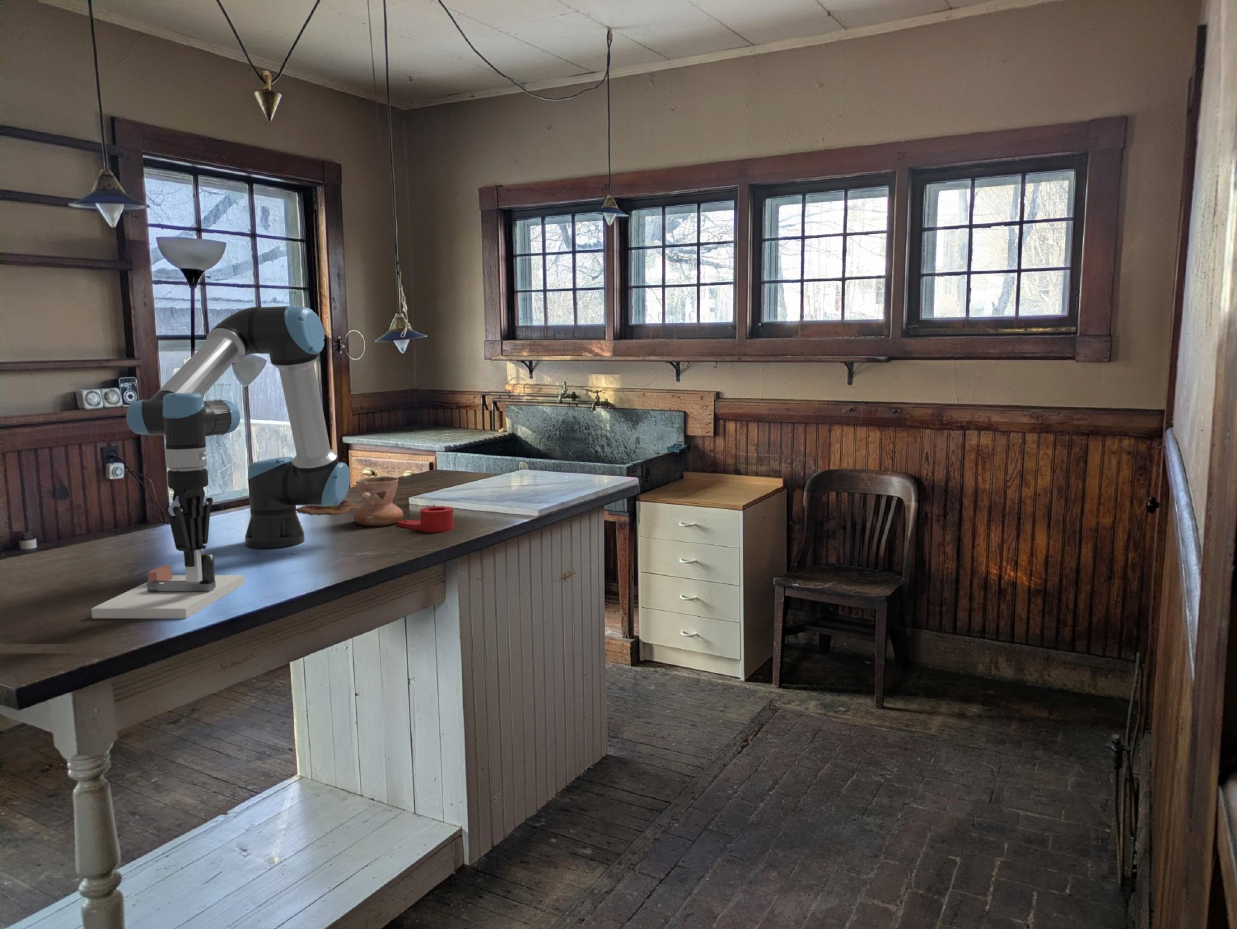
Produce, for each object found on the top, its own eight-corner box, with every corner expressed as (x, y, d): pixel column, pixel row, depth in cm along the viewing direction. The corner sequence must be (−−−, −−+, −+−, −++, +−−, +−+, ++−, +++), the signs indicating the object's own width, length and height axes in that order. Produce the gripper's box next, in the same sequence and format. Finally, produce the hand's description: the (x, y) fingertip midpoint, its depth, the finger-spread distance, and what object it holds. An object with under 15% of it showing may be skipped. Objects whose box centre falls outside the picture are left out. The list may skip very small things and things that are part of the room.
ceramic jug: (389, 531, 257) (388, 483, 255) (343, 530, 260) (341, 482, 258) (414, 520, 275) (412, 474, 273) (370, 518, 277) (368, 474, 276)
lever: (460, 529, 261) (459, 507, 260) (442, 535, 252) (441, 513, 251) (408, 525, 267) (407, 503, 267) (389, 531, 259) (388, 509, 258)
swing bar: (143, 591, 186) (140, 556, 185) (152, 587, 190) (150, 552, 189) (210, 591, 186) (208, 556, 185) (218, 586, 190) (216, 552, 189)
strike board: (162, 583, 201) (160, 562, 201) (244, 583, 201) (243, 562, 200) (92, 618, 176) (89, 593, 175) (186, 618, 175) (184, 593, 175)
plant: (326, 507, 301) (324, 474, 299) (373, 511, 293) (371, 477, 292) (283, 517, 282) (281, 483, 281) (331, 522, 275) (330, 486, 273)
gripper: (184, 472, 174) (192, 589, 177) (222, 464, 187) (228, 573, 190) (149, 472, 175) (157, 588, 178) (189, 464, 188) (196, 573, 191)
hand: (194, 580), depth 184 cm, fingers closed
